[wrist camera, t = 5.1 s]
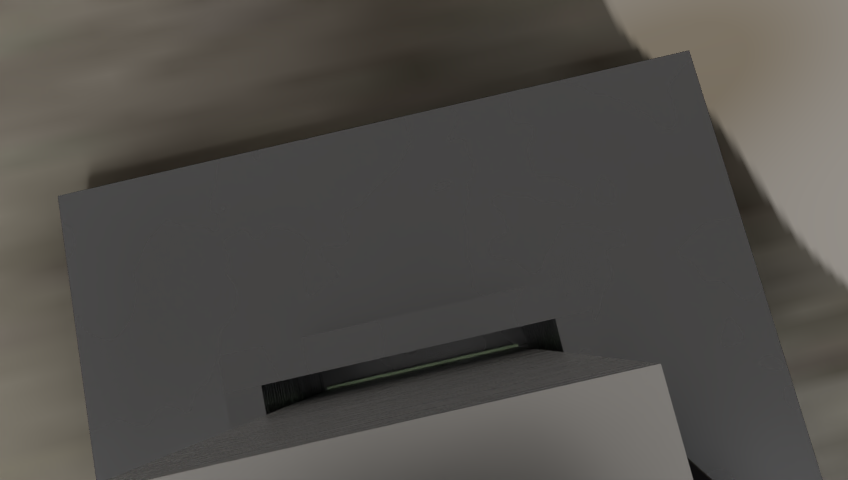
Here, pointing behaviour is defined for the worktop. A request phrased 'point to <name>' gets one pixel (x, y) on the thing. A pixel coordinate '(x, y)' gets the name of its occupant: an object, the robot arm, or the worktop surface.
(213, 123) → the worktop surface
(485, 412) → the column
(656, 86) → the stand
